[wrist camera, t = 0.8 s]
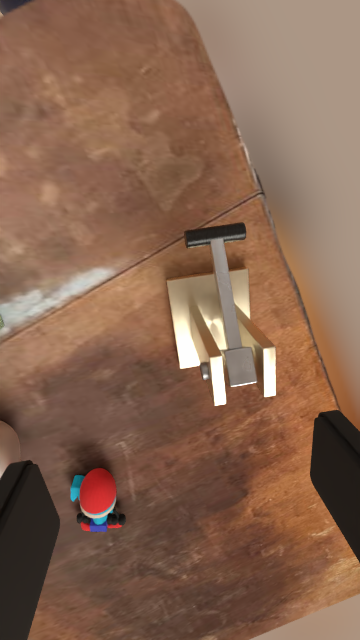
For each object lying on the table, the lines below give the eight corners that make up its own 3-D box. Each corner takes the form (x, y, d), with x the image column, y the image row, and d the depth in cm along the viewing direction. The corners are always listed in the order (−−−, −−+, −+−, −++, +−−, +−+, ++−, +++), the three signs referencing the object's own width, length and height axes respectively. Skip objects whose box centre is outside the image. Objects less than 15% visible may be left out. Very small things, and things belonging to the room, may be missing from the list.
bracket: (165, 278, 31) (175, 320, 19) (245, 266, 31) (304, 299, 19) (179, 364, 35) (194, 442, 23) (249, 352, 35) (299, 423, 23)
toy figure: (128, 513, 46) (126, 458, 38) (123, 549, 41) (120, 496, 34) (82, 511, 45) (71, 456, 38) (72, 548, 41) (57, 494, 33)
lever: (183, 236, 24) (184, 225, 22) (238, 228, 25) (246, 216, 22) (208, 385, 24) (212, 390, 21) (265, 375, 24) (275, 379, 21)
